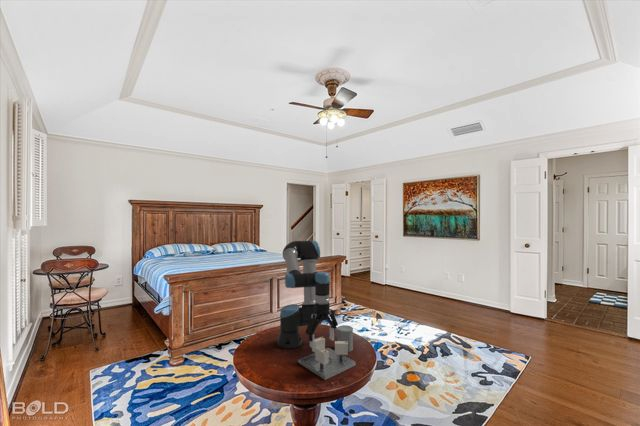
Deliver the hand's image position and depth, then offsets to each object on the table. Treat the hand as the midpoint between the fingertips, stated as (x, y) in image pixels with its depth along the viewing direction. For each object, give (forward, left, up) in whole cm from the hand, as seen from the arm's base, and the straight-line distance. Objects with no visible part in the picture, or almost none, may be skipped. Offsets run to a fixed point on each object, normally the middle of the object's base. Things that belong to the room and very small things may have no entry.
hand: (322, 343), depth 158 cm
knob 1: (0, 0, -13) cm, 13 cm away
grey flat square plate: (-4, +7, -15) cm, 17 cm away
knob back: (-11, +7, -13) cm, 18 cm away
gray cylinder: (-11, +28, -15) cm, 34 cm away
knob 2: (0, +14, -13) cm, 19 cm away
